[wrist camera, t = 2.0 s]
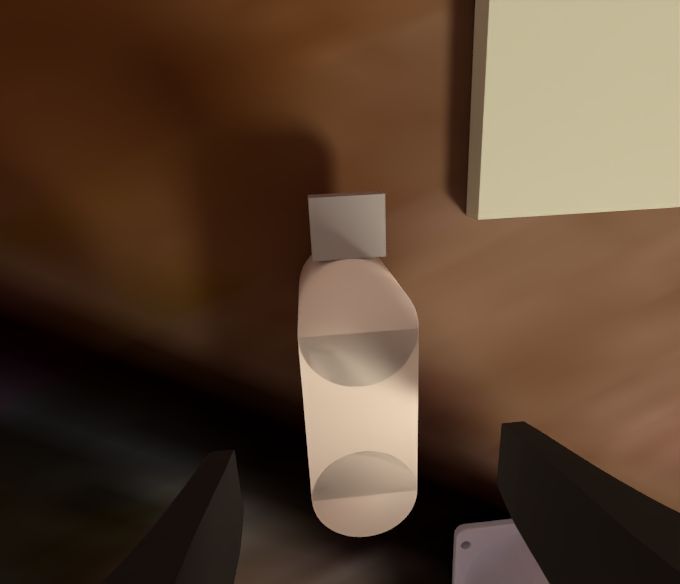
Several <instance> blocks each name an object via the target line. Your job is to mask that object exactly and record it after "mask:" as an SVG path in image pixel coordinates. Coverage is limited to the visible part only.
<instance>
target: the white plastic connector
mask: <svg viewBox="0 0 680 584" xmlns="http://www.w3.org/2000/svg"><path fill="white" fill-rule="evenodd" d="M308 207H309V221H310V235H311V249H312V254H311V255H310V257H309V258H308V259H307V260H306V262H305V264H304V266H303V268H302V270H301V274H300V279H299V302H298V347H299V359H300V370H301V381H302V393H303V404H304V416H305V427H306V439H307V450H308V461H309V473H310V484H311V496H312V504H313V508H314V511H315V513H316V515H317V517H318V518H319V520H320V521H321V522H322V523H323V524H324V525H325V526H326V527H328V528H329V529H331V530H333V531H335V532H337V533H339V534H342V535H346V536H352V537H367V536H373V535H377V534H381V533H383V532H386V531H388V530H390V529H392V528H393V527H395V526H397V525H398V524H399V523H400V522H402V521H403V520H404V519H405V518H406V517H407V515H408V514H409V513H410V511H411V510H412V508H413V506H414V504H415V501H416V497H417V465H418V359H419V324H418V317H417V313H416V310H415V307H414V305H413V303H412V301H411V300H410V298H409V297H408V296H407V294H406V293H405V292H404V290H403V289H402V288H401V286H400V285H399V284H398V282H397V281H396V280H395V278H394V277H393V276H392V274H391V273H390V272H389V270H388V269H387V268H386V266H385V265H384V264H383V262H382V261H381V260H380V258H379V257H384V256H386V223H385V193H382V192H380V191H366V192H349V193H332V194H314V195H308Z"/></svg>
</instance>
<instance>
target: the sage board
mask: <svg viewBox="0 0 680 584" xmlns="http://www.w3.org/2000/svg"><path fill="white" fill-rule="evenodd" d="M671 207H680V0H475V21H474V44H473V67H472V90H471V114H470V137H469V160H468V183H467V206H466V216H469V217H472V218H475V219H478V220H480V219H496V218H512V217H528V216H544V215H560V214H576V213H591V212H607V211H623V210H639V209H655V208H671Z"/></svg>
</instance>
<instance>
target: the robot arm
mask: <svg viewBox="0 0 680 584" xmlns="http://www.w3.org/2000/svg"><path fill="white" fill-rule="evenodd" d="M497 486H498V488H499V491H500V493H501V496H502V498H503V500H504V503H505V505H506V507H507V509H508V511H509V514H510V516H511V518H512V519H505V520H496V521H487V522H478V523H469V524H462V525H460V526H458V527H457V528H456V529H455V532H454V549H453V571H452V584H680V513H679V512H677V511H675V510H673V509H671V508H669V507H667V506H665V505H663V504H661V503H659V502H657V501H655V500H653V499H651V498H650V497H648V496H646V495H644V494H642V493H641V492H639V491H637V490H635V489H634V488H632V487H630V486H628V485H626V484H625V483H623V482H621V481H619V480H618V479H616V478H614V477H613V476H611V475H609V474H608V473H606V472H604V471H603V470H601V469H599V468H598V467H596V466H594V465H593V464H591V463H589V462H588V461H586V460H585V459H583V458H581V457H580V456H578V455H577V454H575V453H574V452H572V451H570V450H569V449H567V448H566V447H564V446H563V445H561V444H559V443H558V442H556V441H555V440H553V439H552V438H550V437H549V436H547V435H545V434H544V433H542V432H541V431H539V430H537V429H536V428H534V427H532V426H531V425H529V424H527V423H526V422H524V421H522V422H512V423H502V428H501V440H500V452H499V464H498V476H497ZM243 515H244V509H243V503H242V496H241V490H240V483H239V477H238V470H237V464H236V457H235V450H234V449H233V450H223V451H213V452H210V453H209V454H208V455H207V456H206V458H205V459H204V461H203V462H202V463H201V465H200V466H199V467H198V469H197V470H196V472H195V473H194V474H193V476H192V477H191V478H190V480H189V481H188V482H187V484H186V485H185V486H184V488H183V489H182V490H181V492H180V493H179V494H178V496H177V497H176V498H175V499H174V501H173V502H172V503H171V505H170V506H169V507H168V508H167V510H166V511H165V512H164V513H163V515H162V516H161V517H160V518H159V520H158V521H157V522H156V523H155V524H154V526H153V527H152V528H151V529H150V530H149V531H148V533H147V534H146V535H145V536H144V537H143V538H142V539H141V541H140V542H139V543H138V544H137V545H136V546H135V548H134V549H133V550H132V551H131V552H130V553H129V554H128V555H127V556H126V558H125V559H124V560H123V561H122V562H121V563H120V564H119V565H118V566H117V567H116V568H115V569H114V570H113V571H112V572H111V573H110V574H109V575H108V576H107V577H106V578H105V579H104V580H103V581H102V582H101V583H100V584H234V579H235V574H236V569H237V564H238V559H239V554H240V546H241V537H242V526H243ZM465 541H466V542H465Z"/></svg>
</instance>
